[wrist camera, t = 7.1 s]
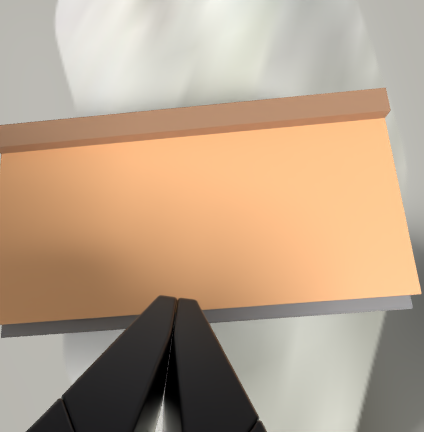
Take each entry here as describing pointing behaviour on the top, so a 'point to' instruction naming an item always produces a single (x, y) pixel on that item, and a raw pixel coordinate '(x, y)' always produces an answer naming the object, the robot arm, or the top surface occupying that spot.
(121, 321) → the cable duct
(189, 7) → the top surface
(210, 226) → the duct cover
